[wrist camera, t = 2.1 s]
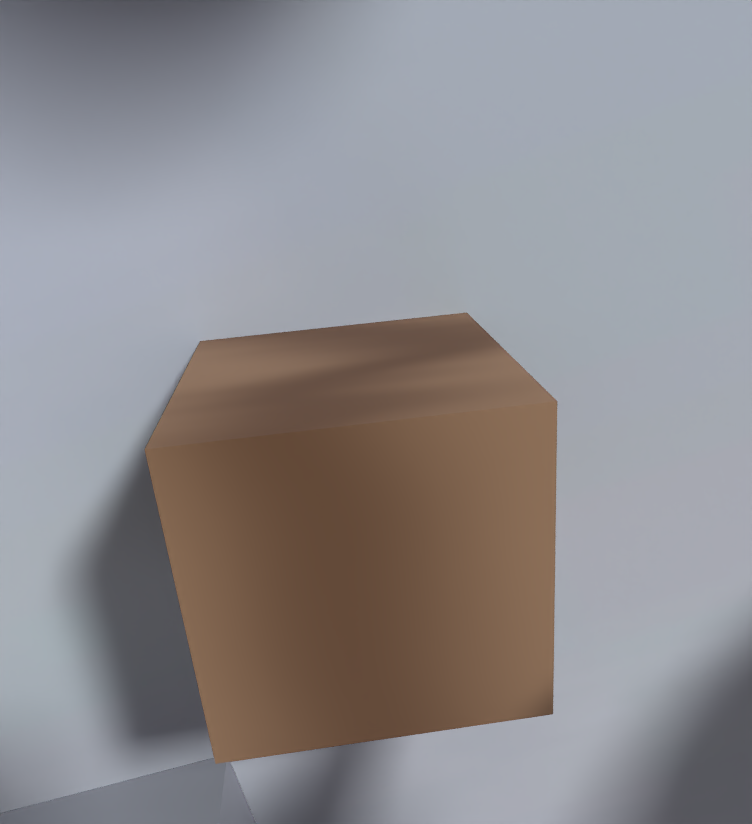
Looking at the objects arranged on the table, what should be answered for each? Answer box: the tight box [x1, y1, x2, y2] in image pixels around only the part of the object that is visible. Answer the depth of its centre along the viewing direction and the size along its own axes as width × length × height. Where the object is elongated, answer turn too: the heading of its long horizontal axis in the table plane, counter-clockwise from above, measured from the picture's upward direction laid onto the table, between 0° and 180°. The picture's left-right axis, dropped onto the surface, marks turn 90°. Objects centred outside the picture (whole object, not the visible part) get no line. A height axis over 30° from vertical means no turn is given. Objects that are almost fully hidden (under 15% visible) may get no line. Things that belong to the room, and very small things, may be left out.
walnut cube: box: [145, 313, 557, 764], centre depth 12 cm, size 5×5×5 cm
